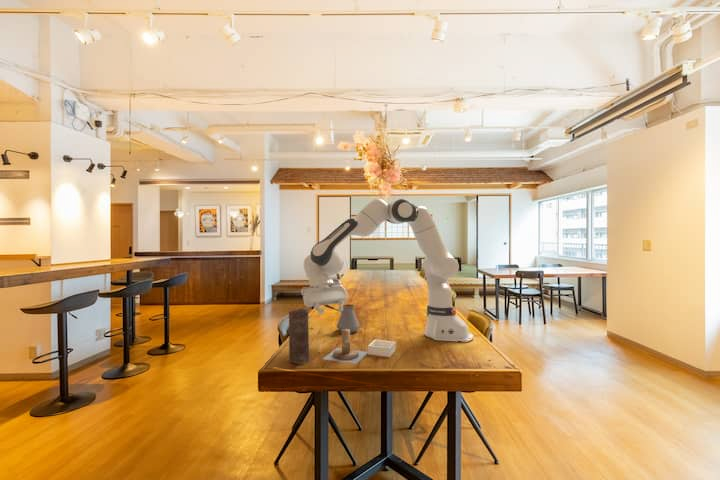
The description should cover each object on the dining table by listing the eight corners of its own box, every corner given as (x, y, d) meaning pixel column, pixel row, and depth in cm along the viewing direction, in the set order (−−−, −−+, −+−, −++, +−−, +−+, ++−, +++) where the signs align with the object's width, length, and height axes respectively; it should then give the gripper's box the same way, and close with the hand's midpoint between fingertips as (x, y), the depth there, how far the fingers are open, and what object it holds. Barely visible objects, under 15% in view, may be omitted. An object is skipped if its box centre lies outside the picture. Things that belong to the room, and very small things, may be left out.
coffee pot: (358, 327, 178) (358, 299, 178) (360, 334, 167) (361, 303, 167) (316, 329, 176) (316, 299, 176) (316, 335, 164) (316, 304, 164)
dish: (395, 351, 142) (395, 341, 142) (389, 358, 133) (389, 348, 133) (375, 348, 145) (375, 339, 145) (367, 355, 137) (367, 345, 137)
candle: (291, 367, 124) (291, 312, 124) (286, 361, 130) (286, 308, 130) (312, 364, 127) (312, 310, 127) (305, 357, 134) (305, 306, 134)
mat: (368, 353, 139) (368, 352, 139) (355, 365, 126) (355, 363, 126) (337, 349, 144) (337, 347, 144) (321, 360, 131) (321, 358, 131)
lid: (362, 352, 138) (362, 328, 138) (353, 361, 129) (353, 334, 129) (339, 350, 142) (339, 325, 142) (328, 357, 132) (328, 332, 132)
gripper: (301, 283, 145) (311, 310, 137) (343, 279, 156) (354, 304, 148) (297, 292, 149) (307, 319, 141) (338, 288, 160) (349, 313, 152)
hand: (331, 311), depth 145 cm, fingers open, 8 cm apart
